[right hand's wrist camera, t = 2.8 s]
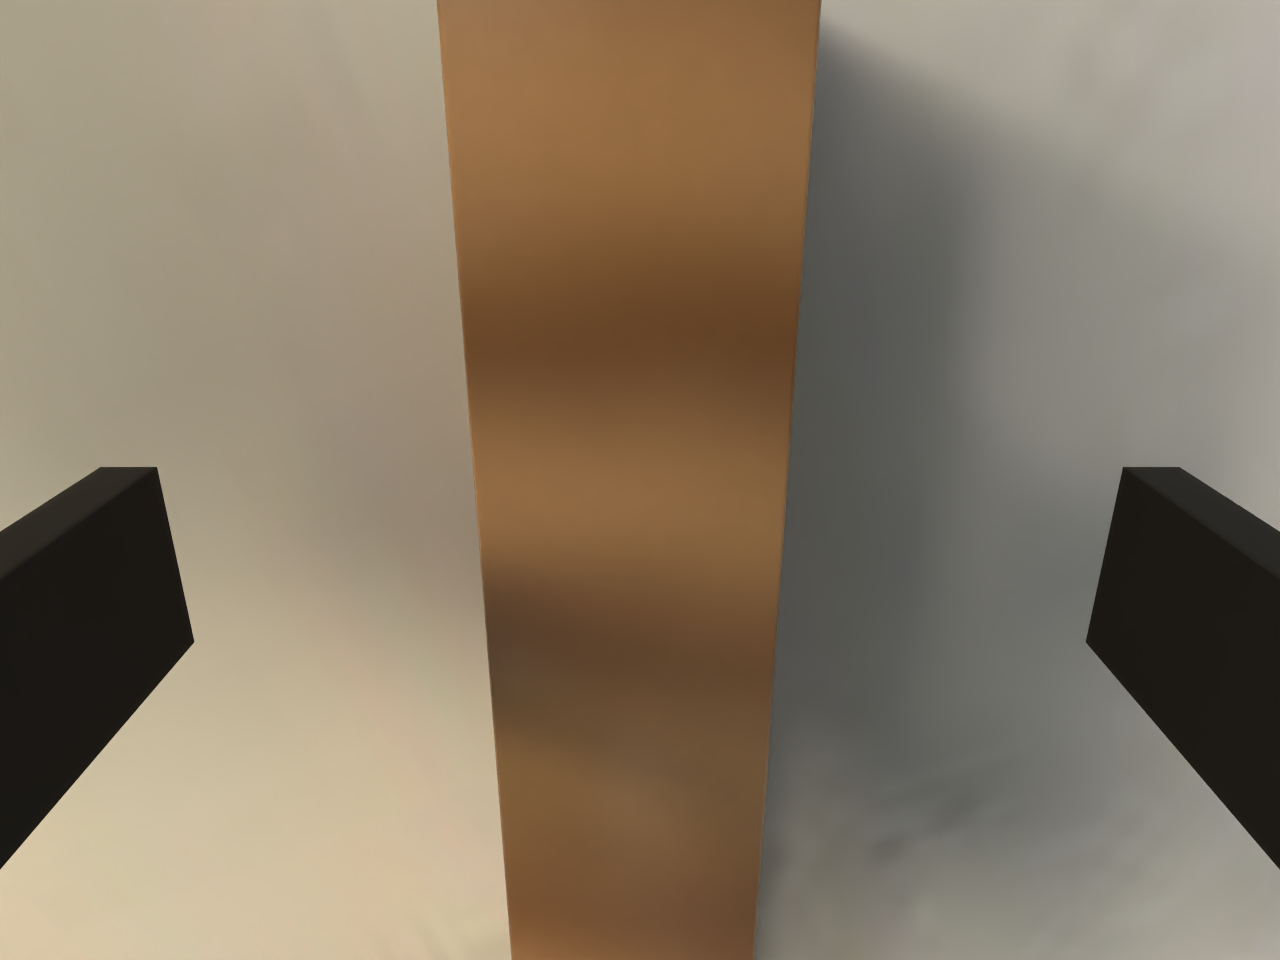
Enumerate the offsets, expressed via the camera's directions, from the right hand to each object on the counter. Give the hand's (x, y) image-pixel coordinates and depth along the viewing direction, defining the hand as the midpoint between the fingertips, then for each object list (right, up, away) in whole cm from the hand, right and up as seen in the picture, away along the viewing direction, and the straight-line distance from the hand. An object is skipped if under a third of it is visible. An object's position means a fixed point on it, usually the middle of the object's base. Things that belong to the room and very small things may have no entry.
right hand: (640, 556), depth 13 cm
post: (0, -14, +16) cm, 21 cm away
